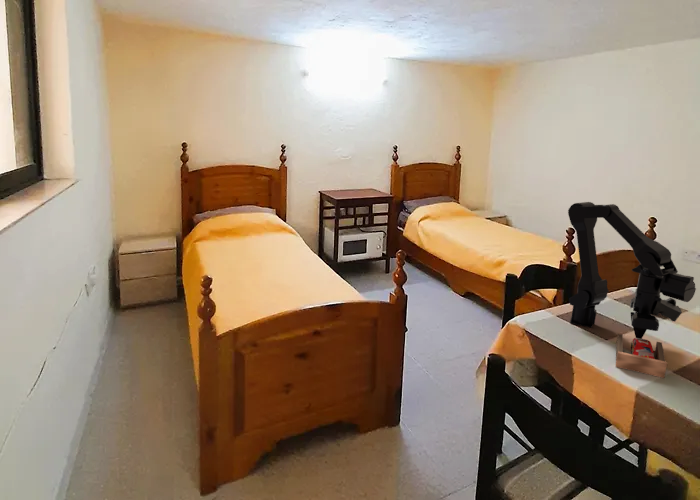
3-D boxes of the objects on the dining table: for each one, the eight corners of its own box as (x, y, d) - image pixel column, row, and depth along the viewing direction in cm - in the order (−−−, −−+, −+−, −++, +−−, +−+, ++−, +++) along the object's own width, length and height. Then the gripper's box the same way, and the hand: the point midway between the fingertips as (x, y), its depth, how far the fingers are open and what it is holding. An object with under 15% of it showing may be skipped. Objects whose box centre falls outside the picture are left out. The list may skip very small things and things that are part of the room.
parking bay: (615, 366, 124) (618, 353, 123) (616, 342, 137) (618, 330, 136) (664, 377, 118) (667, 363, 117) (659, 352, 132) (662, 339, 131)
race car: (654, 369, 123) (657, 356, 122) (630, 364, 126) (633, 351, 125) (651, 349, 134) (654, 337, 133) (630, 345, 137) (632, 332, 136)
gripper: (686, 306, 120) (674, 360, 124) (678, 285, 136) (668, 334, 140) (637, 298, 125) (626, 350, 129) (634, 279, 141) (625, 326, 145)
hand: (638, 340), depth 136 cm, fingers closed
